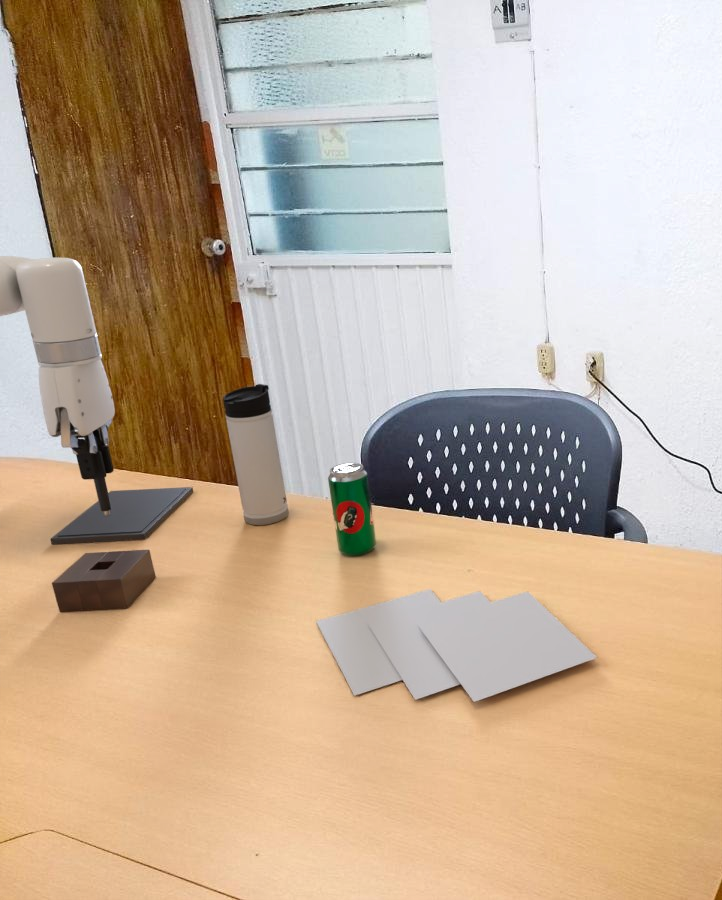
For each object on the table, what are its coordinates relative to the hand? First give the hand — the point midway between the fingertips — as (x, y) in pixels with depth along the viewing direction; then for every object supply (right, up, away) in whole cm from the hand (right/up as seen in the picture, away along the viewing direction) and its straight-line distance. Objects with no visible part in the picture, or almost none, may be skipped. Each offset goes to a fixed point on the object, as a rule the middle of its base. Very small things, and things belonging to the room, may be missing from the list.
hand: (98, 474), depth 120 cm
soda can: (+39, -10, -5) cm, 41 cm away
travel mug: (+22, -7, +6) cm, 24 cm away
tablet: (0, -7, +7) cm, 10 cm away
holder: (+11, -14, -15) cm, 24 cm away
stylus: (0, -6, +2) cm, 6 cm away
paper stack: (+56, -18, -28) cm, 65 cm away
